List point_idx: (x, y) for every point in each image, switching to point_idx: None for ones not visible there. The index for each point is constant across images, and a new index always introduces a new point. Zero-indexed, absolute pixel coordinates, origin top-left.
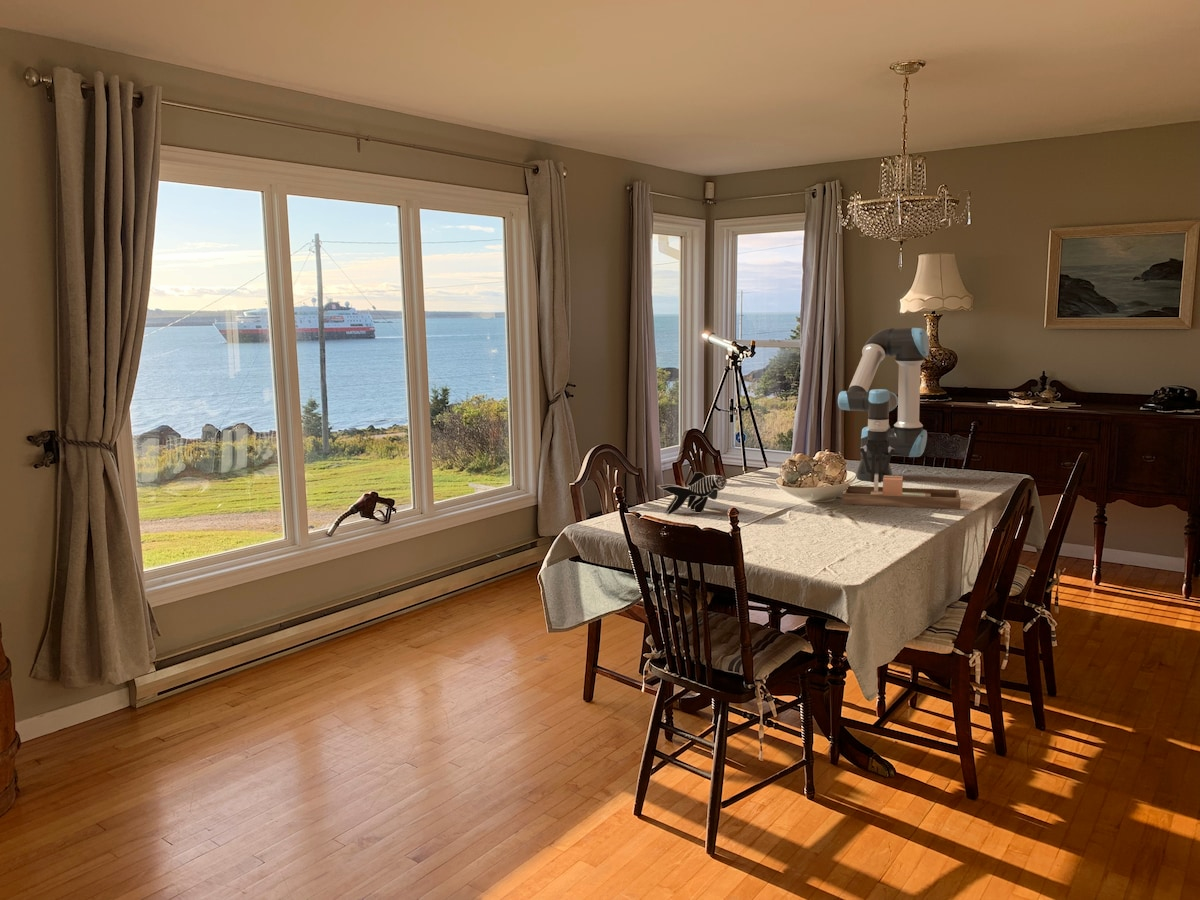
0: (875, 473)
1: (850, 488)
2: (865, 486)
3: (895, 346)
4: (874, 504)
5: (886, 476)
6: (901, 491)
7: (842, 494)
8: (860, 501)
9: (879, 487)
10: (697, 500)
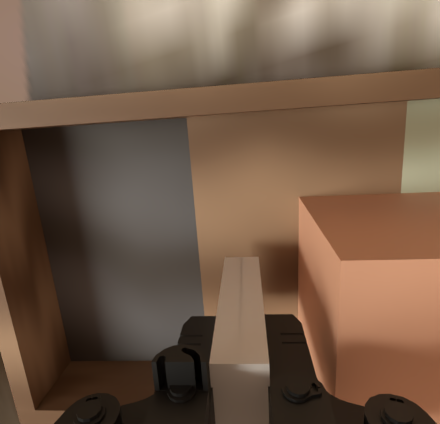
0: (219, 365)
1: (5, 129)
2: (122, 104)
3: None
4: None
5: (381, 327)
6: None
7: (25, 420)
8: None
9: (261, 109)
10: None
